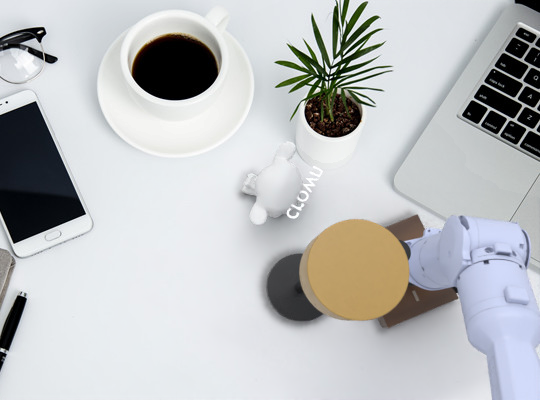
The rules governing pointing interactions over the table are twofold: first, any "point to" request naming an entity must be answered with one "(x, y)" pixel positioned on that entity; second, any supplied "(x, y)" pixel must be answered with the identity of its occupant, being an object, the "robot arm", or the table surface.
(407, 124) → the table surface
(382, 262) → the desk lamp
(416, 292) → the dial panel
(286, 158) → the figurine
